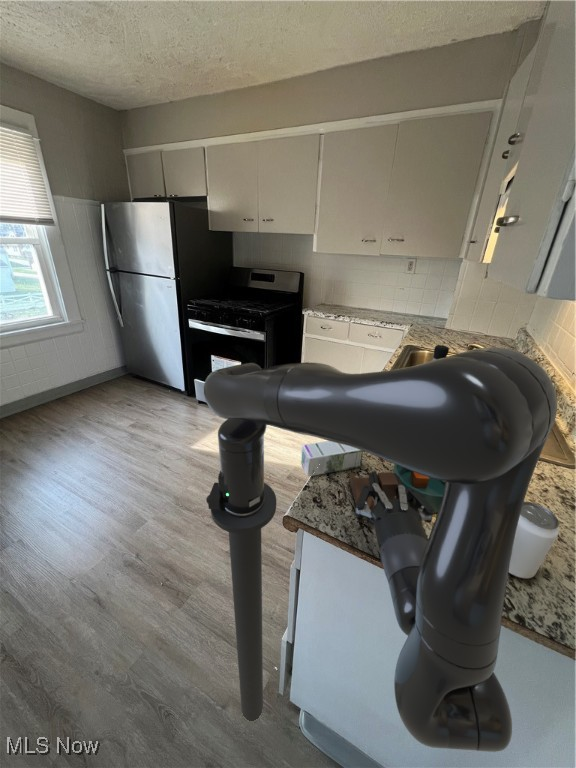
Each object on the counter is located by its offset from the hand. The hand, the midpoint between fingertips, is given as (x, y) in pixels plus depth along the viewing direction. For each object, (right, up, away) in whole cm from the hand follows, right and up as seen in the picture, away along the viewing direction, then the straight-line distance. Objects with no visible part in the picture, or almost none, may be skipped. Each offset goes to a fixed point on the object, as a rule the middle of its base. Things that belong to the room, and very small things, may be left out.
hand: (382, 475), depth 63 cm
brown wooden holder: (0, -7, +6) cm, 9 cm away
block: (+12, -5, +11) cm, 17 cm away
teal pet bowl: (+12, -6, +10) cm, 17 cm away
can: (+22, -14, -6) cm, 27 cm away
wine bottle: (+16, 0, +23) cm, 28 cm away
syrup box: (-1, +1, +18) cm, 18 cm away
